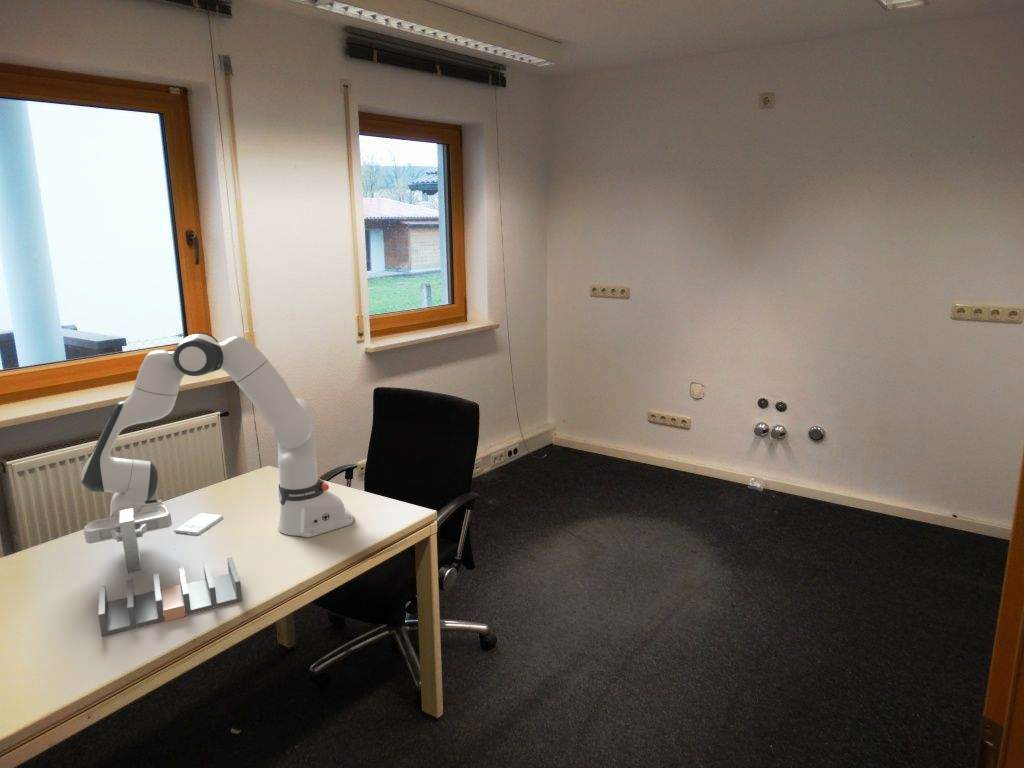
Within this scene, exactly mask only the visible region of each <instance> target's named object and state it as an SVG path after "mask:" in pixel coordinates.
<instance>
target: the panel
mask: <svg viewBox="0 0 1024 768" xmlns="http://www.w3.org/2000/svg"><path fill="white" fill-rule="evenodd" d="M119 518H120V528H121V534H122V540H123V541H122V545H123V551H124V552H123V553H124V558H125V563H126V569H127V574H132V573H135V572H140V571H142V562H141V552H140V548H139V541H138V538H137V537H136V527H135V521H134V514H133V509H128V510H122V511H119Z"/></svg>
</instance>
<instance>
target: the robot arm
mask: <svg viewBox="0 0 1024 768" xmlns="http://www.w3.org/2000/svg"><path fill="white" fill-rule="evenodd" d="M249 340H250V339H249ZM249 340H248V339H247V338H246V337H245V336H242V335H241V336H240V335H234V336H231V337H228V338H226V339H225V340H223V341H221V342H220V341H218V339H217V338H216V337H215V336H213V335H211V334H209V333H206V332H205V333H204V332H196V333H193V334H190V335H188V336H186V337H184V338H183V339H182V340H180V342H179V343H177V345H176V346H175V347H174V349H173V350H172V351H168V350H164V349H160V350H159V349H158V350H153V351H150V352H148V353H147V354H146V355H145V356H144V359H143V361H142V363H141V365H140V367H139V369H138V373H137V376H136V379H135V383H134V386H133V389H132V391H131V393H130V394H129V395H128V397H127V398H126V399H125V400H121V401H118V402H117V403H116V405H114V407H113V409H112V410H111V412H110V414H109V417H108V419H107V421H106V422H105V425H104V427H103V429H102V431H101V433H100V435H99V438H98V439H97V441H96V444H95V446H94V449H93V451H92V452H91V454H90V457H89V458H88V460H86V462H85V464H84V466H83V468H82V470H81V474H80V480H81V484H82V485H83V487H85V488H86V490H88V491H89V492H91V493H113V495H112V498H111V499H110V504H109V507H110V512H109V513H110V515H109V517H104V518H99V519H94V520H92V521H89V522H87V524H86V525H85V526H84V528H83V535H84V540H85V543H86V544H95V543H99V542H104V541H109V540H116V542H117V543H119V542H123V540H122V534H121V528H120V518H119V511H122V510H128V509H133V514H134V521H135V527H136V537H137V539H138V538H143V537H144V534H146V533H147V532H151V531H152V532H154V531H158V530H162V529H167V528H168V529H169V528H170V527H171V526H173V522H172V520H173V519H172V514H171V512H170V509H169V508H168V506H167V505H164V502H163V500H162V499H153V497H154V496H155V493H156V491H157V487H158V478H159V477H158V474H159V473H158V469H157V467H156V466H155V464H154V463H153V462H152V461H150V460H149V461H148V460H142V459H135V458H133V459H130V458H122V457H114V456H111V453H112V450H113V449H114V445H115V444H116V441H117V439H118V438H119V435H120V433H121V432H122V431H123V430H125V429H126V428H127V427H130V426H134V425H137V424H143V423H149V422H153V421H154V422H155V421H157V420H158V421H159V420H161V419H162V418H165V417H166V416H168V415H169V414H170V413H171V412H172V411H173V409H174V407H175V404H176V402H177V399H178V394H179V391H180V386H181V383H182V380H183V378H184V377H185V376H186V375H187V376H190V377H200V376H204V375H207V374H209V373H213V372H216V371H219V370H220V369H221V370H222V371H224V372H226V374H227V375H228V376H229V377H230V378H231V379H232V381H233V382H234V383H235V384H236V385H237V386H238V387H239V389H240V390H241V391H242V393H244V395H245V396H246V397H247V399H249V400H250V402H251V403H252V404H253V406H254V407H255V409H256V410H257V411H258V413H259V416H261V419H262V420H263V422H264V423H265V424H266V426H267V428H268V429H269V431H270V432H271V433H272V435H273V438H274V439H275V441H276V443H277V455H278V456H277V463H278V464H277V465H278V477H279V479H278V480H279V484H278V499H279V503H280V513H279V521H278V524H277V525H278V526H277V530H278V532H280V533H282V534H284V535H287V536H297V537H302V538H312V537H316V536H318V535H322V534H325V533H328V532H331V531H335V530H337V529H340V528H344V527H348V526H350V525H352V524H353V523H354V515H353V514H352V512H351V511H350V510H349V509H348V508H347V507H345V505H344V503H343V500H342V499H341V498H340V497H339V496H338V495H336V494H334V493H332V492H330V491H328V490H330V486H329V484H328V483H327V482H325V481H324V480H322V479H321V478H320V477H318V467H317V447H316V446H317V445H316V442H317V441H316V439H317V438H316V420H315V419H316V418H315V411H314V409H313V406H312V405H311V404H310V403H309V402H308V401H307V400H305V399H303V398H300V397H295V395H294V394H293V393H292V390H291V389H290V388H289V386H288V384H287V382H286V380H285V379H284V378H283V376H281V374H280V373H279V371H278V370H277V368H275V367H274V366H273V364H272V363H271V362H270V360H269V359H268V358H267V357H266V356H265V354H263V353H262V352H261V351H260V349H258V347H257V346H256V345H254V343H252V342H251V340H250V341H249Z"/></svg>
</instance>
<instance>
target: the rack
mask: <svg viewBox="0 0 1024 768" xmlns="http://www.w3.org/2000/svg"><path fill="white" fill-rule="evenodd" d="M226 561H227V568H228V569H227V570H228V573H226V574H221V575H216V576H213V575H212V571H211V568H210V563H209V562H203V563H202V565H203V572H204V574H203V575H204V579H200V580H196V581H191V582H187V578H186V573H185V567H182V568H178V573H179V574H178V575H179V581H180V583H179V584H177V585H172V586H168V587H164V588H161V581H160V573H154V574H152V576H153V586H154V590H153V591H148V592H144V593H139V594H135V589H134V588H135V587H134V581H133V578H131V579H127V580H126V595H127V596H126V597H122V598H117V599H114V600H110V601H109V600H108V594H107V593H108V592H107V587H106V585H100V586H99V593H98V594H99V595H98V612H97V613H98V621H99V628H100V634H101V637H104V636H109V635H112V634H117V633H120V632H124V630H125V631H129V630H133V629H137V628H140V626H141V627H144V625H145V626H148V625H152V624H157V623H160V622H170V621H174V620H177V618H178V619H181V617H182V618H185V617H184V616H187V615H186V614H189V615H191V614H190V613H192V614H195V613H194V612H196V613H200V612H203V611H202V610H204V611H207V610H206V609H208V610H211V609H210V608H212V609H214V608H213V607H216V608H218V607H217V606H220V607H222V606H221V605H224V606H227V605H226V604H228V605H231V603H232V604H235V602H236V603H239V602H238V601H240V602H243V594H242V586H241V579H240V577H239V573H238V571H237V567H236V565H235V561H234V559H233V556H231V557H230V556H229V557H227V559H226ZM199 611H200V612H199ZM173 619H174V620H173ZM136 627H137V628H136ZM128 629H129V630H128ZM116 632H117V633H116Z"/></svg>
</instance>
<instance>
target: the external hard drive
mask: <svg viewBox="0 0 1024 768" xmlns="http://www.w3.org/2000/svg"><path fill="white" fill-rule="evenodd" d="M222 519H224V516H223V515H222V514H214V513H207V512H200V513H198V514H197V515H195V516H194V517H192V518H190V519H189V520H188V521H186V522H185V523H183V524H181V525H180V526H178V527H177V528H176V529H174V530H173V532H179V533H178V534H181V533H190V534H189V535H191V534H197V535H196V536H199V535H200V534H202V533H203V532H205V531H207V530H208V529H209V528H210V526H211V527H212V526H213V524H214V525H215V524H217V523H218V522H219V520H220V521H221V520H222ZM216 522H217V523H216ZM207 528H208V529H207ZM204 530H205V531H204ZM201 532H202V533H201ZM199 533H200V534H199ZM198 534H199V535H198Z"/></svg>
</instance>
